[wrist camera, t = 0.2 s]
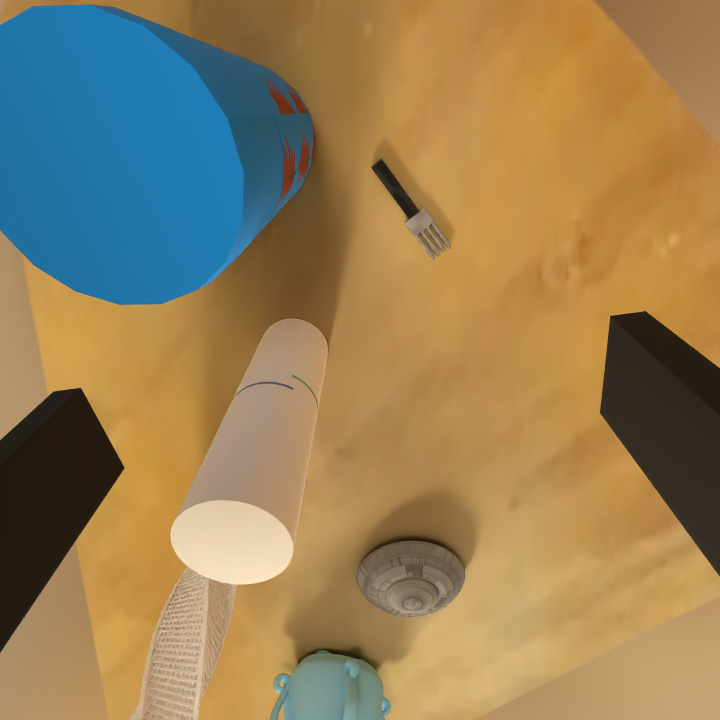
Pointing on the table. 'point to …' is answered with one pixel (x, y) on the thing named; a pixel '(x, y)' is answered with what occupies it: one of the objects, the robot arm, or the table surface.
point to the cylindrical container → (257, 463)
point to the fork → (410, 210)
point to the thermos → (139, 151)
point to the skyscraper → (185, 648)
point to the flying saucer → (410, 578)
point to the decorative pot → (331, 690)
